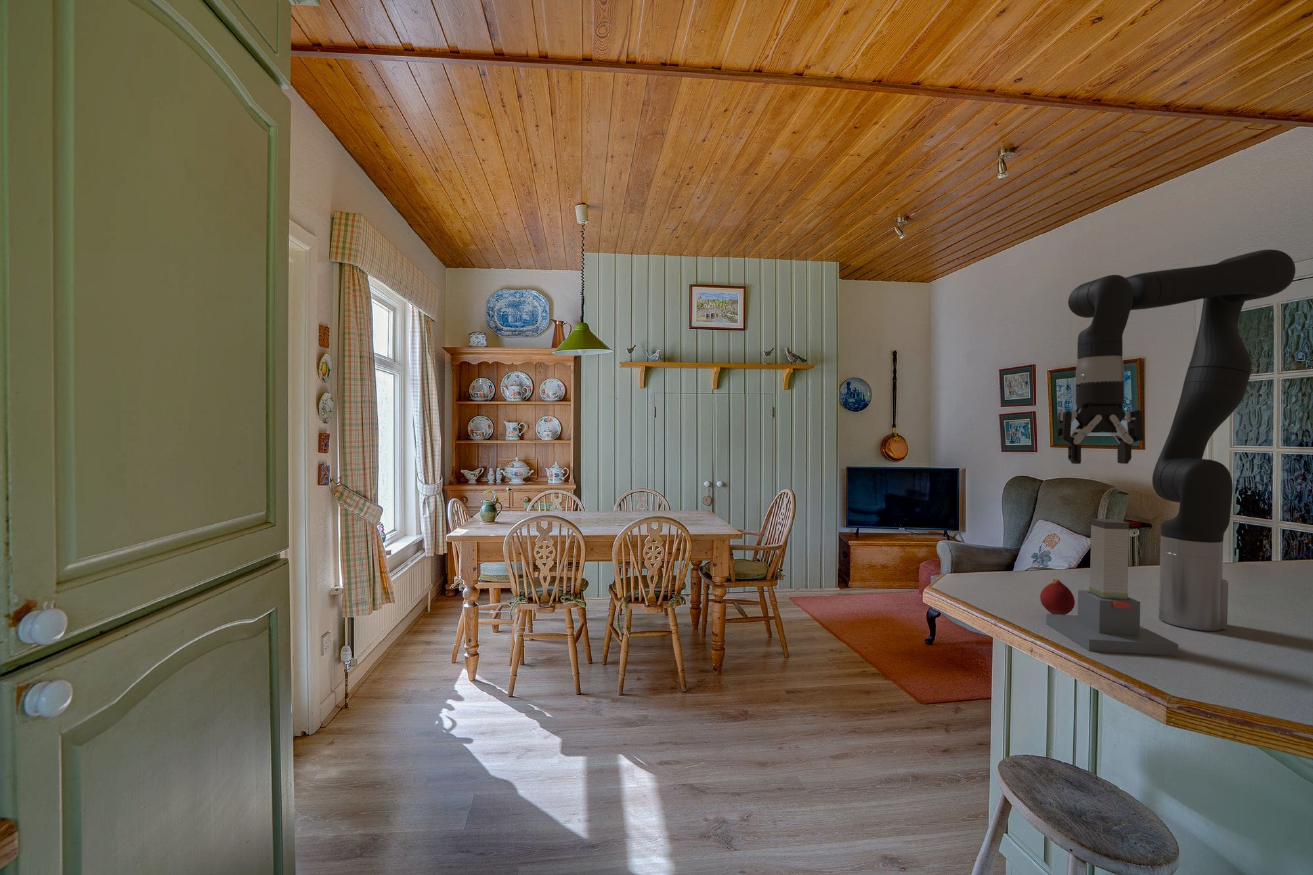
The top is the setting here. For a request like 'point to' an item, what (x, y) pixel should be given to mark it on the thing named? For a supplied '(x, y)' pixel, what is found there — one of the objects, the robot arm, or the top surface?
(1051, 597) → the onion
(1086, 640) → the stand
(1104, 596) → the column
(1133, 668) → the top surface
